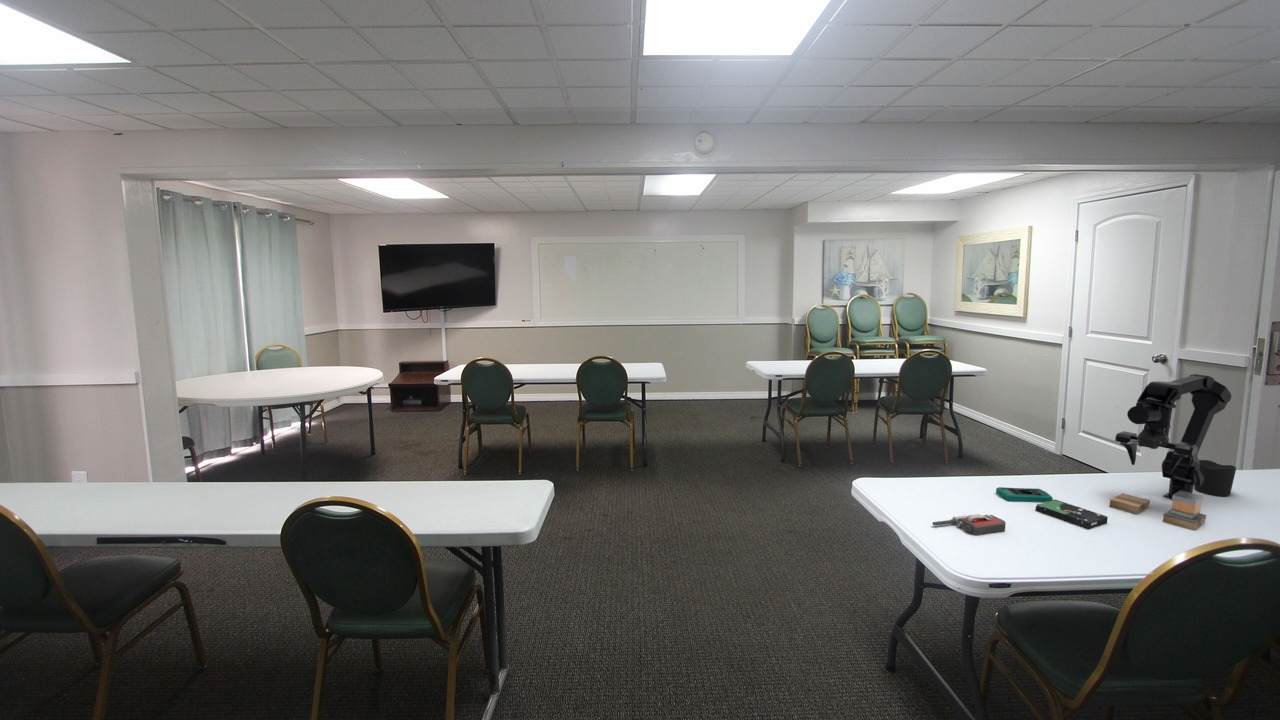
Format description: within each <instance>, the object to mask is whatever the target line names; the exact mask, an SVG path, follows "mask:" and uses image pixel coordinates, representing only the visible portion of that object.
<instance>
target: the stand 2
mask: <svg viewBox="0 0 1280 720" xmlns="http://www.w3.org/2000/svg"><path fill="white" fill-rule="evenodd" d="M1170 510H1171V509H1170ZM1170 510H1168V511H1166V512H1164V513H1163V517H1162V523H1165V524H1169V525H1174V526H1177V527H1180V528H1184V529H1187V530H1191V531H1195V530H1197V529H1199V528H1200V527H1201V526H1202V525H1204V524H1206V520H1207V514H1203V513H1201V512H1200V515H1199V516H1198V517H1196V518H1195V519H1193V520H1190V519H1187V518H1183V517H1179V516H1175V515H1172V514H1170Z"/></svg>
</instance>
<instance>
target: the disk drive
mask: <svg viewBox="0 0 1280 720" xmlns="http://www.w3.org/2000/svg"><path fill="white" fill-rule="evenodd" d="M1034 511H1035V512H1038V513H1040V514H1043V515H1046V516H1049V517H1051V518H1054V519H1056V520H1060V521H1063V522H1066V523H1069V524H1071V525H1074V526H1076V527H1080V528H1083V529H1085V530H1091V529H1093V528H1097V527H1101V526H1104V525H1106V524H1108V518H1109V517H1108V516H1107V515H1105V514H1101V513H1097V512H1095V511H1092V510H1088V509H1086V508H1082V507H1080V506H1076V505H1073V504H1070V503H1067V502H1064V501H1062V500H1061V501H1060V500H1058V499H1052V500H1050V501H1046V502H1045V503H1044V502H1041V503H1037V504H1036V505H1035V510H1034Z"/></svg>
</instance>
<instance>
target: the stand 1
mask: <svg viewBox="0 0 1280 720" xmlns="http://www.w3.org/2000/svg"><path fill="white" fill-rule="evenodd" d="M1150 502H1151V500H1149V499H1146V498H1143V497H1140V496H1139V497H1138V496H1134V495H1130V494H1127V493H1120V494H1118V495H1116V496H1114V497H1112V498H1110V499H1109V506H1108V507H1109V508H1112V509H1115V510H1119V511H1123V512H1127V513H1130V514H1134V515H1139V514H1141V513H1143V512H1144V511H1146V510H1148V509H1149V508H1150Z"/></svg>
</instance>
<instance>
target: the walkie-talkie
mask: <svg viewBox="0 0 1280 720" xmlns="http://www.w3.org/2000/svg"><path fill="white" fill-rule="evenodd" d="M931 524H932V525H933V526H934V527H935V526H943V525H949V524H951V525H952V524H953V525H956V527H957V528H959V529H961V530H963V531H965V532H966V533H970V535H972V536H974V537H975V536H982V535H990V534H997V533H999V534H1000V533H1004V532H1005V531H1006V524H1007V523H1006V521H1005V520H1004V519H1002V518H999V517H997V516H995V515H994V514H988V513H986V514H985V515H984V514H983V515H982V514H980V513H978V514H977V513H976V514H970V515H960V516H952V519H947V520H939V521H933V522H932V523H931Z"/></svg>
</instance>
